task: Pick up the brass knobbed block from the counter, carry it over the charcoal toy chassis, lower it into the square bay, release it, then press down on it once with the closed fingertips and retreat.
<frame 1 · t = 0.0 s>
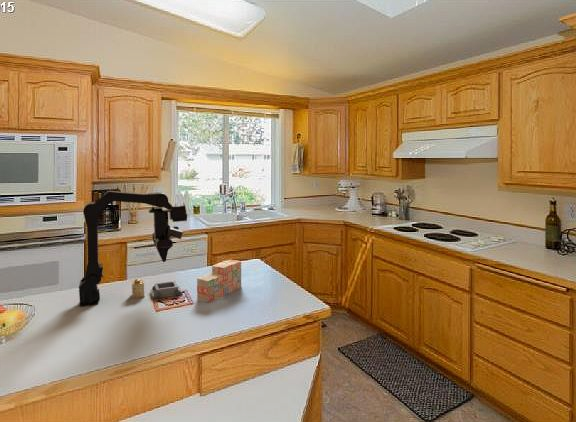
hand: (162, 258, 155), 15 cm above the counter, fingers open, 9 cm apart
brass knobbed block: (138, 295, 153), on the counter
stack of blocks: (220, 293, 156), on the counter
chassis: (166, 293, 155), on the counter
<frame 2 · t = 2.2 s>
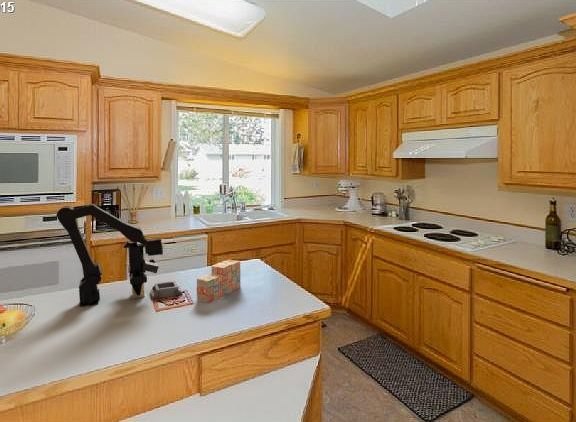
hand: (138, 293, 152), 1 cm above the counter, fingers closed on brass knobbed block, 4 cm apart
brass knobbed block: (138, 295, 153), on the counter, touching gripper
everything else where it was.
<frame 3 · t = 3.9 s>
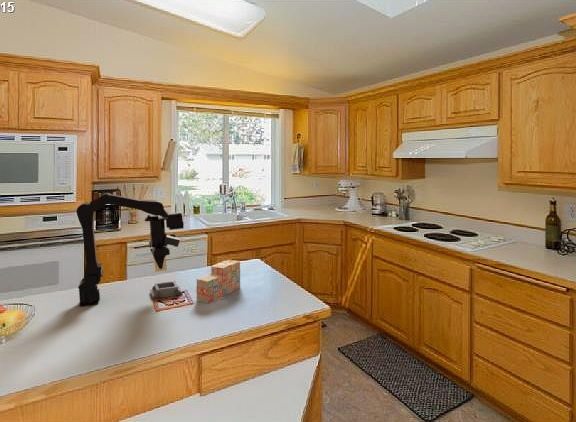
hand: (160, 267, 153), 12 cm above the counter, fingers closed on brass knobbed block, 4 cm apart
brass knobbed block: (160, 269, 153), point 11 cm above the counter, touching gripper
everything else where it was.
when the fingers open (4 cm above the counter, at t = 5.7 s): brass knobbed block drops 2 cm, resting on chassis.
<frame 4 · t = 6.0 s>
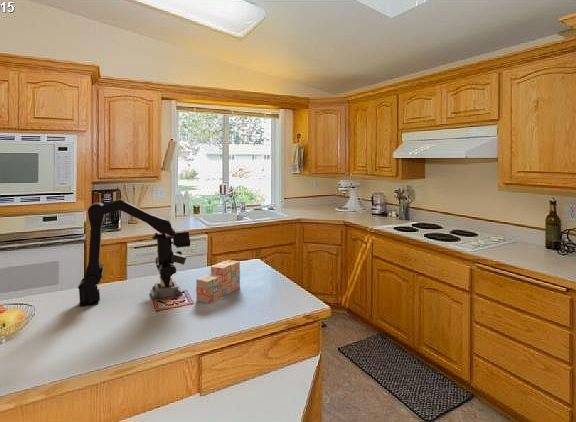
hand: (166, 284, 155), 4 cm above the counter, fingers open, 7 cm apart
brass knobbed block: (166, 290, 155), point 1 cm above the counter, touching chassis
everything else where it was.
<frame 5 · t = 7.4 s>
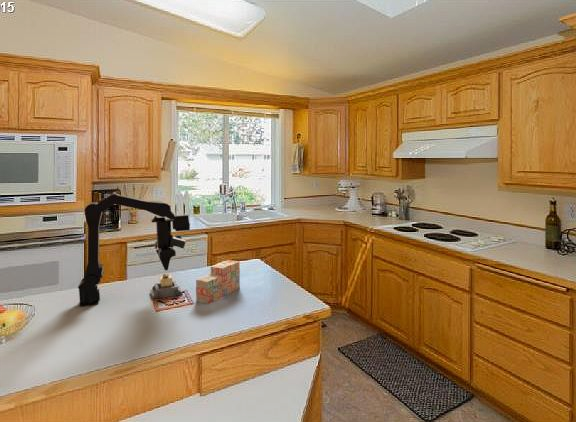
hand: (165, 268, 154), 11 cm above the counter, fingers open, 5 cm apart
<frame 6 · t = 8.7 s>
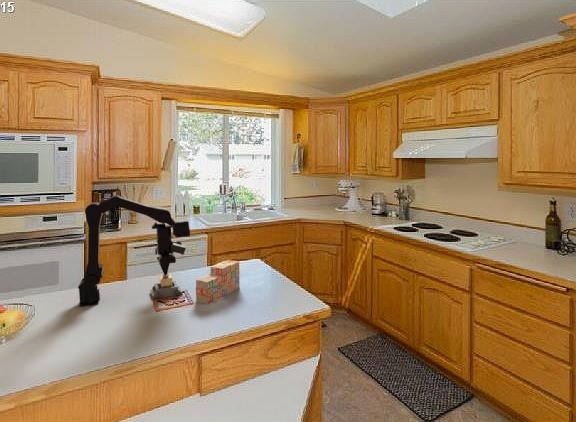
hand: (165, 274, 154), 8 cm above the counter, fingers closed
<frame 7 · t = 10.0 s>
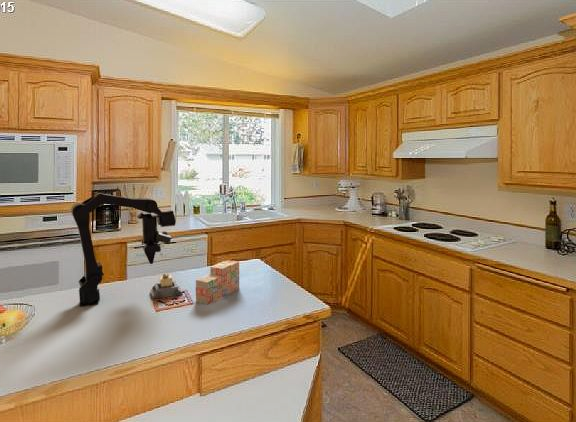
hand: (151, 263, 157), 12 cm above the counter, fingers closed
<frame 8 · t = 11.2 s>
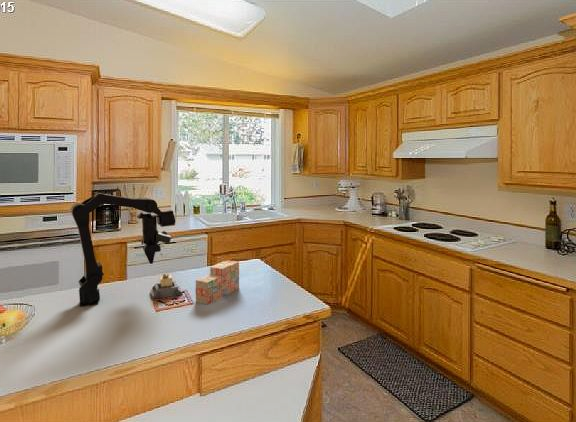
hand: (151, 263, 157), 12 cm above the counter, fingers closed
at the end: brass knobbed block 0.0 cm off-centre on the chassis, point 1.2 cm above the chassis's base; brass knobbed block tilted 0°; the gripper is holding nothing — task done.
